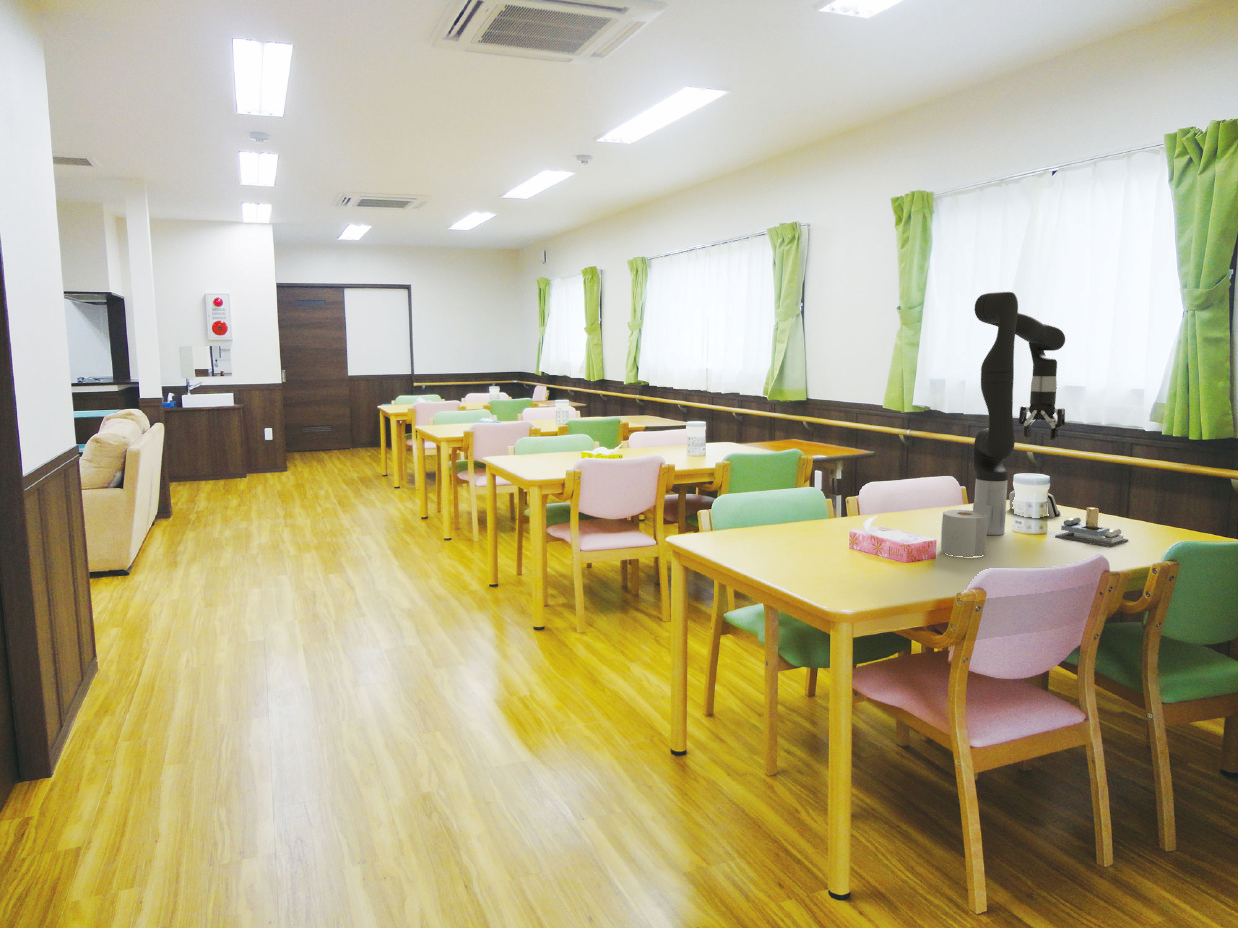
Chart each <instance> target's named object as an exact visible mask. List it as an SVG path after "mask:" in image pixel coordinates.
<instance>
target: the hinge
mask: <svg viewBox="0 0 1238 928" xmlns="http://www.w3.org/2000/svg"><path fill="white" fill-rule="evenodd" d="M1014 490H1015V489H1013V490H1012V491H1010V492H1009V494H1008V497H1009V499H1008V500H1009V510H1011V509H1012V507H1013V504H1012V502H1013V500H1014V497H1015V491H1014ZM1047 493H1048V514H1049V518H1054V517H1055V516H1059V517H1060V516H1061V511H1060V510H1059V509H1058V506H1057V503H1056V499H1055V496H1054V495H1053V494H1051V493H1049V492H1047Z"/></svg>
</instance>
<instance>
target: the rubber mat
mask: <svg viewBox="0 0 1238 928" xmlns="http://www.w3.org/2000/svg"><path fill="white" fill-rule="evenodd" d="M1054 538H1056V539H1057V538H1058V539H1062V540H1063V539H1064V540H1069V541H1073V542H1074V541H1075V542H1080V543H1085V544H1090V543H1091V545H1095V546H1096V545H1097V546H1100V547H1106V546H1109V547H1108V548H1111V547H1114V545H1115V546H1117V545H1120V544H1124V543H1127V542H1129V539H1128V538H1123V541H1119V542H1116V543H1113V544H1110V543H1104V542H1099V541H1093V540H1088V539H1082V538H1077V537H1074V532H1070V531H1066V532H1062V533H1059V534H1056V535H1054Z"/></svg>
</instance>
